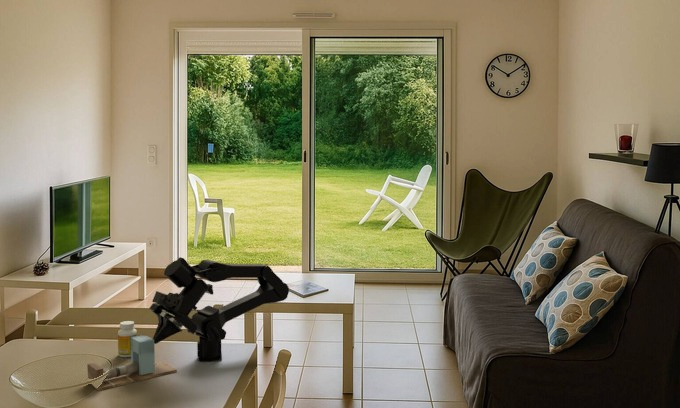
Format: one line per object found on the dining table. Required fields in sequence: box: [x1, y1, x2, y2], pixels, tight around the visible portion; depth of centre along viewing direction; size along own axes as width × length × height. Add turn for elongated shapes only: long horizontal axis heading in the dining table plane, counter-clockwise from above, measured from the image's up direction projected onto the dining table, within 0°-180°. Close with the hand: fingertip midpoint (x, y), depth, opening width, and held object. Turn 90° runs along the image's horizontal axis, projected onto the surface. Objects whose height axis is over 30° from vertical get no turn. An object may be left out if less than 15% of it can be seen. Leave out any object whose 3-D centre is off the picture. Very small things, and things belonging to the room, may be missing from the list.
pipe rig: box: [86, 361, 178, 391], centre depth 184 cm, size 22×8×5 cm, turn 131°
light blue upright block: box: [130, 334, 156, 375], centre depth 185 cm, size 4×6×9 cm, turn 41°
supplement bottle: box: [117, 320, 138, 358], centre depth 201 cm, size 5×5×10 cm
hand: (153, 342), depth 187 cm, fingers closed
